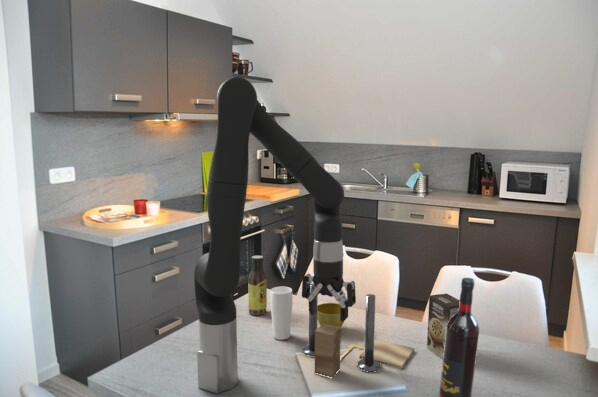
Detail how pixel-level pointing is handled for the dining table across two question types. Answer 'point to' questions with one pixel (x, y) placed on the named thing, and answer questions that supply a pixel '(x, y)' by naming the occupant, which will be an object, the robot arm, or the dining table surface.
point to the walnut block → (327, 350)
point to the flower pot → (329, 314)
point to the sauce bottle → (257, 287)
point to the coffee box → (440, 320)
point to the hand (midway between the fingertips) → (328, 317)
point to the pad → (390, 353)
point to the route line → (355, 347)
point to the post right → (369, 337)
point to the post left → (311, 329)
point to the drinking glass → (281, 311)
